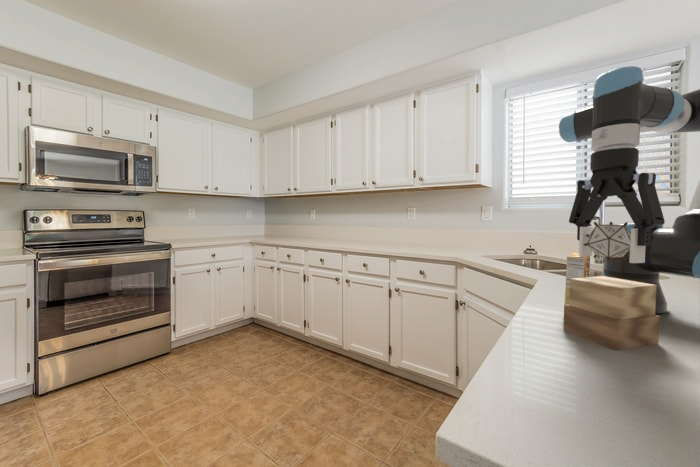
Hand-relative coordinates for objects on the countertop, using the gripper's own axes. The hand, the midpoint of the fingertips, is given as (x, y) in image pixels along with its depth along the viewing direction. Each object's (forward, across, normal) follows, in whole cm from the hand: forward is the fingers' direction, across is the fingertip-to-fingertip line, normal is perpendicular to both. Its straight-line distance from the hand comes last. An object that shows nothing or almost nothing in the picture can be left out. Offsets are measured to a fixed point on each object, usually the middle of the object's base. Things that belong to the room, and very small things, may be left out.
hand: (609, 259), depth 65 cm
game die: (0, 0, 0) cm, 0 cm away
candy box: (+17, -14, +8) cm, 23 cm away
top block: (+11, 0, 0) cm, 11 cm away
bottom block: (+17, 0, 0) cm, 17 cm away
